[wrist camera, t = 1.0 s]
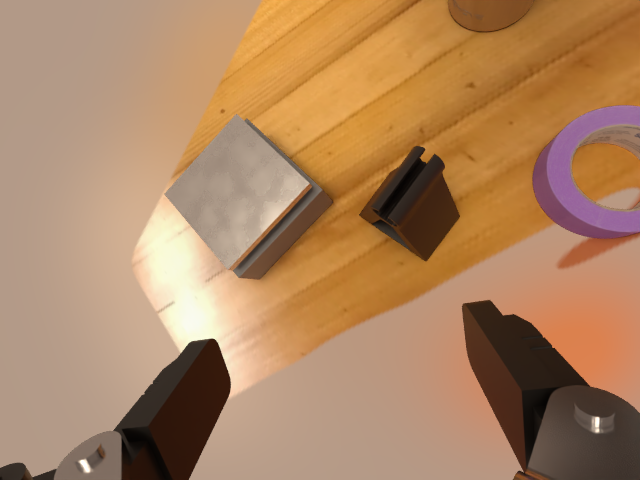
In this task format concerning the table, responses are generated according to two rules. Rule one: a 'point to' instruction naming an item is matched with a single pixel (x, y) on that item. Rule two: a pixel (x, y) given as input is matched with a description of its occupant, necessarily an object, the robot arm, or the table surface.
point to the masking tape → (558, 183)
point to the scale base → (283, 225)
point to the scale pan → (236, 192)
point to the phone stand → (414, 204)
